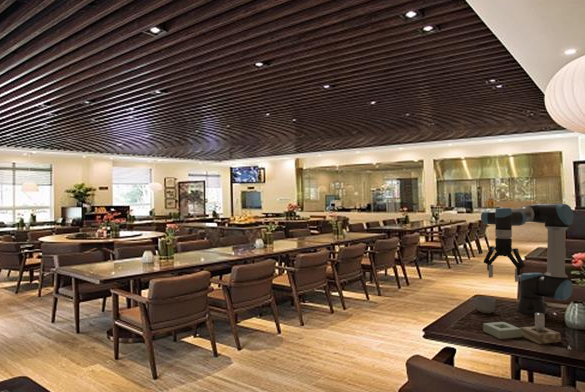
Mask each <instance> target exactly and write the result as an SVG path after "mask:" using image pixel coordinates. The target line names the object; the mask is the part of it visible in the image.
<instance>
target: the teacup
mask: <svg viewBox="0 0 585 392" xmlns="http://www.w3.org/2000/svg"><path fill="white" fill-rule="evenodd" d="M472 301H474V302H475V304H474V303H473V302H472ZM469 303H470V305H471V306H473V307H474V308H475V309H477V310H478V311H479V312H480V313H482V314H492V313H493V312H495V310H496V299H494V297H493V298H492V297H489V296H476V297H475V298H474V297H471V298H470V300H469Z"/></svg>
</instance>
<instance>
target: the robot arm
mask: <svg viewBox="0 0 585 392" xmlns="http://www.w3.org/2000/svg"><path fill="white" fill-rule="evenodd" d="M574 216H575V215H574V211H573V209H572V207H571V206H570V205H569V204H568V203H535V204H533V203H532V204H527V205H523V206H521V207H517V208H511V207H497V208H495V210H483V211H482V212H481V214H480V220H481V222H482V223H483V224H484V225H495V231H494V232H495V234H494V235H495V240H494V243H495V244H494V245H495V246H494V245H490V246H489V248H488V249H489V250H488V251H487V253H486V256H485V258H484V260H483V264H486V270H487V271H488V278H494V267H493V266H494V265H493V262H494V261H495V260H496V259H497V258H498V257H507V258H508V259H509V260H510V261H511V263H512V264H513V265H514V266H515V268H514V282H515V283H518V282H520V283H519V286H520V287H519V288H520V291H519V293H520V295H519V296H520V298H519V301H518V304H517V306H516V309H517V312H519V313H522V314H525V315H532V316H533V315H534V316H535V313H543V314H544V315H546V314H547V309H546V305H545V304H544V303H545V301H544V302H543V297H545V298H549V299H553V300H557V301H566V300H568V299H569V298H570V296H572V293H573V288H574V285H573V282H572V281H571V280H569V276H568V275H567V274H566V231H567V230H568V229H569V228H570V225H573V223H574V219H575V218H574ZM529 222H530V223H537V224H544V227H545V228H546V230H547V251H546V253H547V255H546V256H547V258H546V272H544V273H542V272H524V273H522V269H524V268H526V265H525V263H524V261H523V259H522V257H521V254H520V253H519V248H518V247H516V248H515V247H514V248H512V245H513V241H512V236H513V235H512V233H513V232H512V229H513V226H516V227H517V226H524V225H525V224H526V223H529ZM494 251H495V252H494ZM493 253H494V254H493Z"/></svg>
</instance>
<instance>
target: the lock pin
mask: <svg viewBox="0 0 585 392" xmlns="http://www.w3.org/2000/svg"><path fill="white" fill-rule="evenodd" d="M545 321H546V320H545V314H543V313H535V315H534V326H535V331H536V332H539V333H543V332H545V328H546V327H545V326H546V325H545Z"/></svg>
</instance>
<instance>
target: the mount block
mask: <svg viewBox="0 0 585 392" xmlns="http://www.w3.org/2000/svg"><path fill="white" fill-rule="evenodd" d="M519 328H520V329H521V338H525V339H527V340H530V341H532V342H534V343H536V344H538V345H542V344H551V343H561V338H562V337H561V333H560V332H559V331H558V332H557V331H556V330H552V329H550V328H548V327H545V332H543V333H539V332H536V331H535V325H534V326H523V327H521V326H520V327H519Z"/></svg>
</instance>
